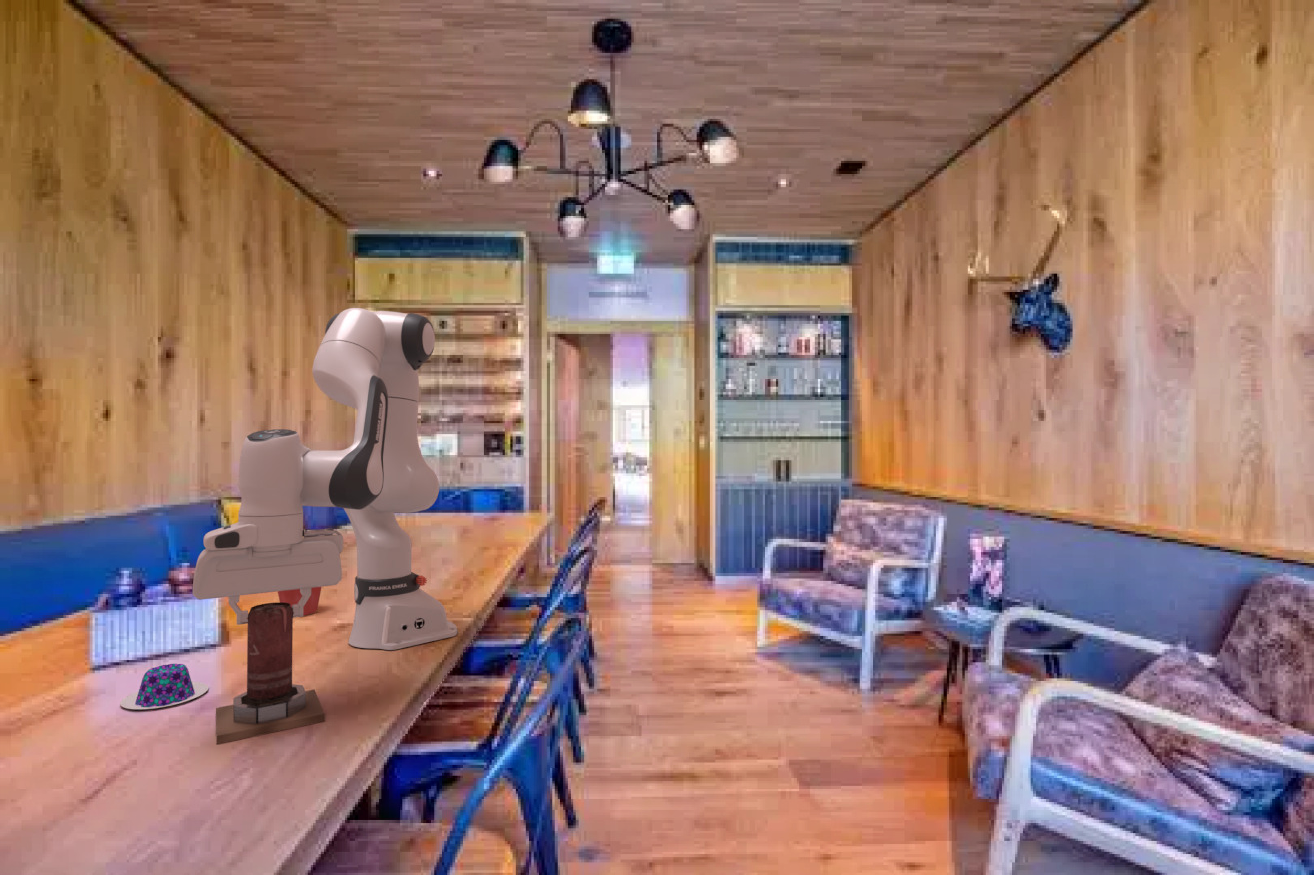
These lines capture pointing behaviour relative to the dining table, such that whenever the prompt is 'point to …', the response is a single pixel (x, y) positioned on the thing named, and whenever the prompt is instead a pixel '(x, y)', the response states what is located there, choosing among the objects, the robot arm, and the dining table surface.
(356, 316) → the robot arm
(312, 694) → the holder board
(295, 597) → the flower pot
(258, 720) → the ring
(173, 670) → the patterned hat
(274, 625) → the can
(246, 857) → the dining table surface
